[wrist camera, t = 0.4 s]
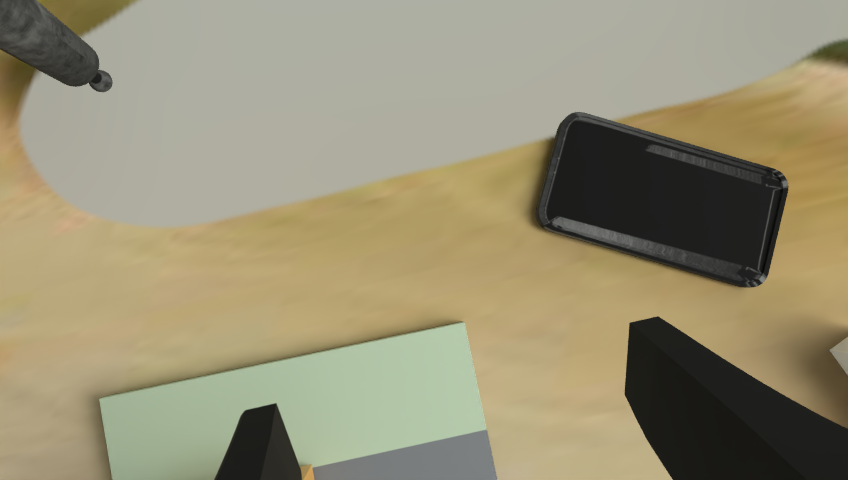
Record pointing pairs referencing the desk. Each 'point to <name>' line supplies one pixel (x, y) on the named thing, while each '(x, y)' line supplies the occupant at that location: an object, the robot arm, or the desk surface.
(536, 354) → the desk surface
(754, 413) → the robot arm
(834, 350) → the napkin holder
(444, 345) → the green and grey board
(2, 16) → the black bowler hat
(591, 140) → the phone
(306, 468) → the bar
